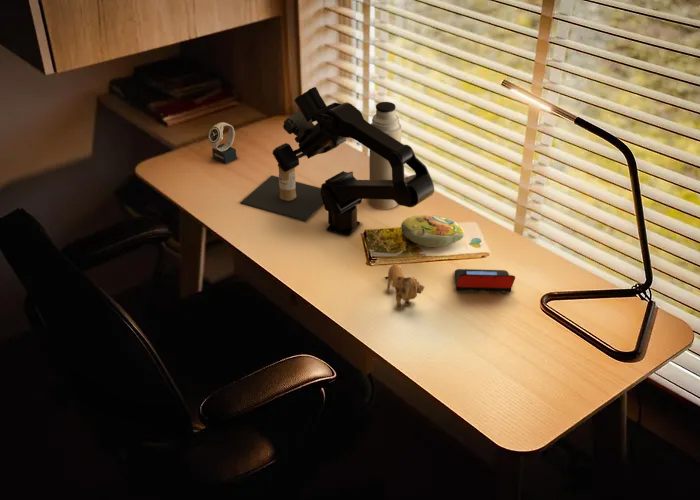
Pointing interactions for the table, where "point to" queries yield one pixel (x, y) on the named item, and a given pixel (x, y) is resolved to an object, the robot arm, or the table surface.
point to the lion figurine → (403, 286)
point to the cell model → (431, 230)
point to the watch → (224, 150)
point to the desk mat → (297, 208)
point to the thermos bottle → (377, 164)
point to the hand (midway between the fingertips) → (292, 160)
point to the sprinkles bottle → (287, 184)
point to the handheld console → (483, 280)
